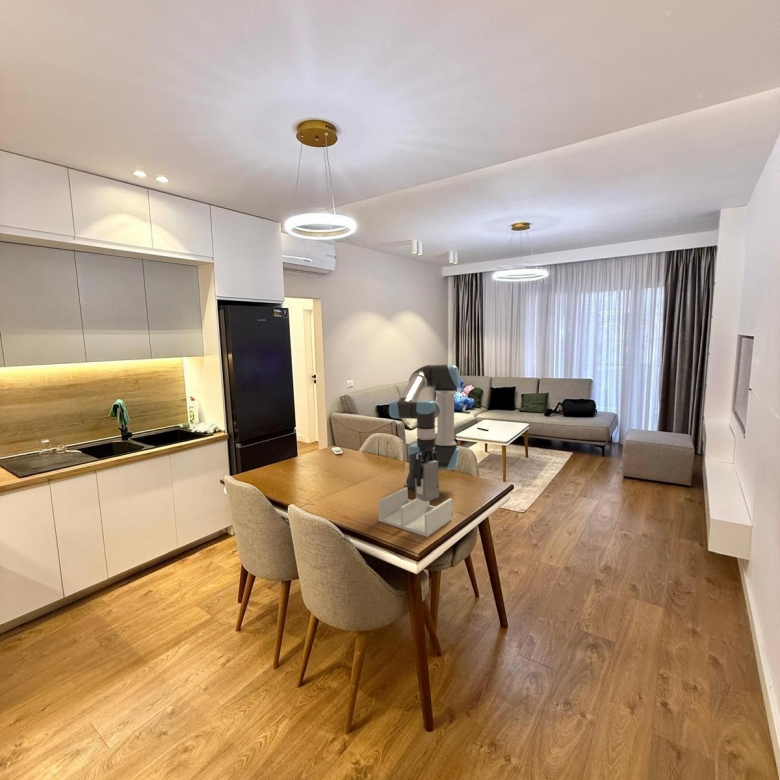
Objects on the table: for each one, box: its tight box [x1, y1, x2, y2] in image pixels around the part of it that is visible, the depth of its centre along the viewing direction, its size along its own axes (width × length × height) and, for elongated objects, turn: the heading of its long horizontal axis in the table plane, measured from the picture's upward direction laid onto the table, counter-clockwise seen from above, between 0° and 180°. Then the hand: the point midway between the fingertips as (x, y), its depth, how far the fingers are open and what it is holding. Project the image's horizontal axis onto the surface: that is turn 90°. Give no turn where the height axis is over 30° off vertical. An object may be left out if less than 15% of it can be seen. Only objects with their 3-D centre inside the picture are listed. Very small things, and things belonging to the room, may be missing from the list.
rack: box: [377, 486, 453, 538], centre depth 176 cm, size 20×25×9 cm
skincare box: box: [414, 460, 440, 502], centre depth 171 cm, size 8×7×16 cm
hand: (426, 490), depth 171 cm, fingers closed on skincare box, 9 cm apart
